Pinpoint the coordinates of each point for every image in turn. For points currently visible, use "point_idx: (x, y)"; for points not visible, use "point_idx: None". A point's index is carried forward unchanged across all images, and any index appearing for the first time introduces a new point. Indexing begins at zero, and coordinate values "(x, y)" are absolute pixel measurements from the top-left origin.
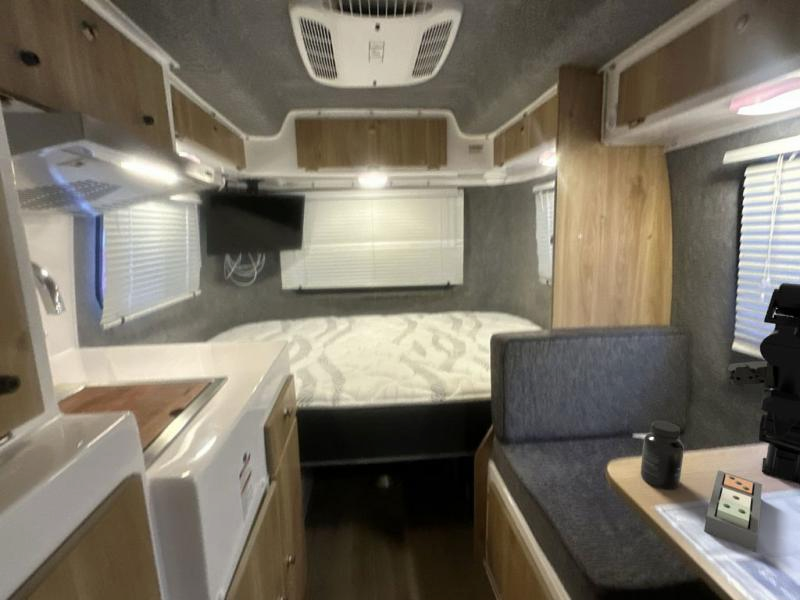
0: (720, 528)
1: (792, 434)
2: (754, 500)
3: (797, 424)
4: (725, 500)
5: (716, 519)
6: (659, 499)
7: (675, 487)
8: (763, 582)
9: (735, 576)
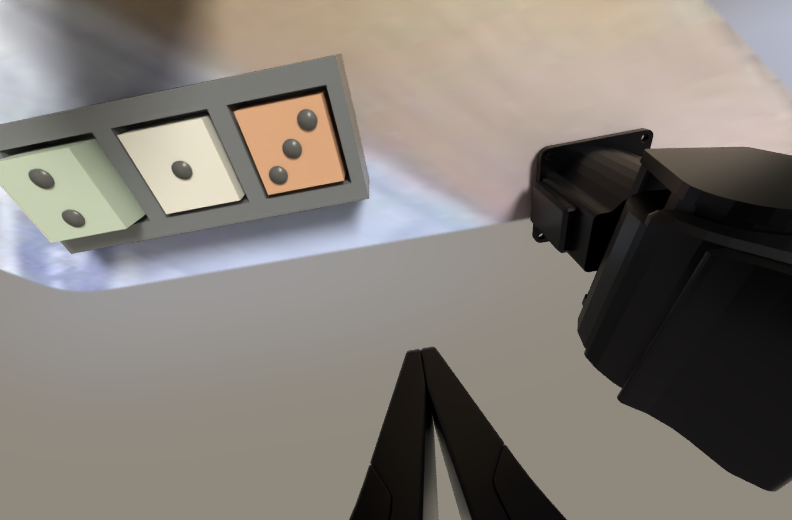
0: None
1: (606, 318)
2: (240, 207)
3: (651, 372)
4: (72, 165)
5: None
6: None
7: None
8: (28, 261)
9: None
